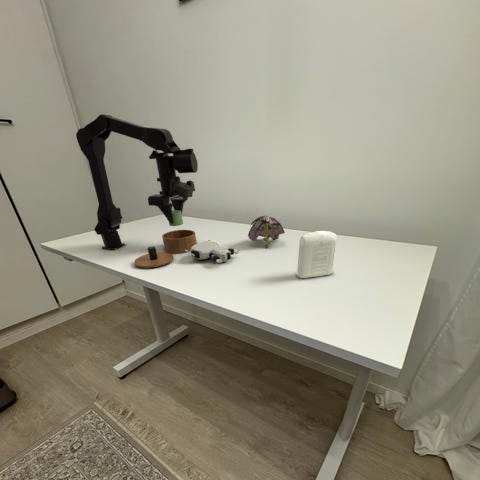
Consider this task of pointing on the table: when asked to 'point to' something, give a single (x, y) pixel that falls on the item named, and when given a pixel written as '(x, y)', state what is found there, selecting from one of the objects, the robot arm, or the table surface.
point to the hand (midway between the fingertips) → (175, 221)
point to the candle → (176, 218)
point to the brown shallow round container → (179, 241)
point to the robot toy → (211, 251)
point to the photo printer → (316, 254)
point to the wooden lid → (153, 258)
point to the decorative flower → (265, 229)
